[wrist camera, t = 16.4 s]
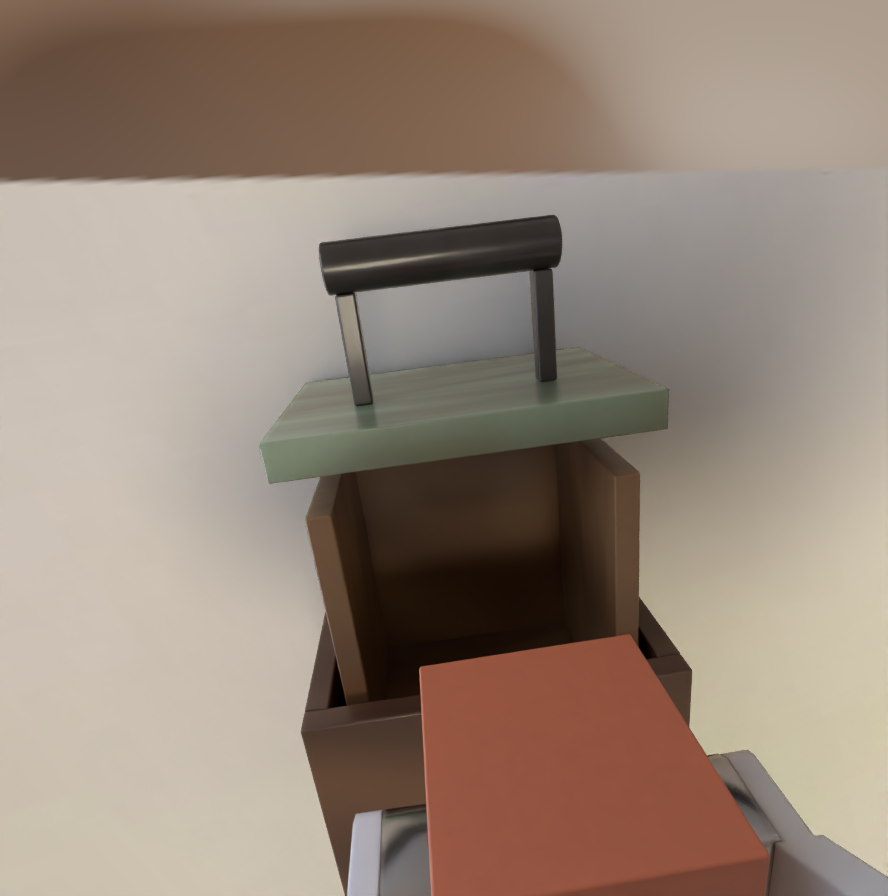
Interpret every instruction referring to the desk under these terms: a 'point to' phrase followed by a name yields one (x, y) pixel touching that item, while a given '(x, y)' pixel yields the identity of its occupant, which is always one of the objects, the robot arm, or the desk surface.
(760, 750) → the desk surface
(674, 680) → the cabinet
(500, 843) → the block
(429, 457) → the drawer
